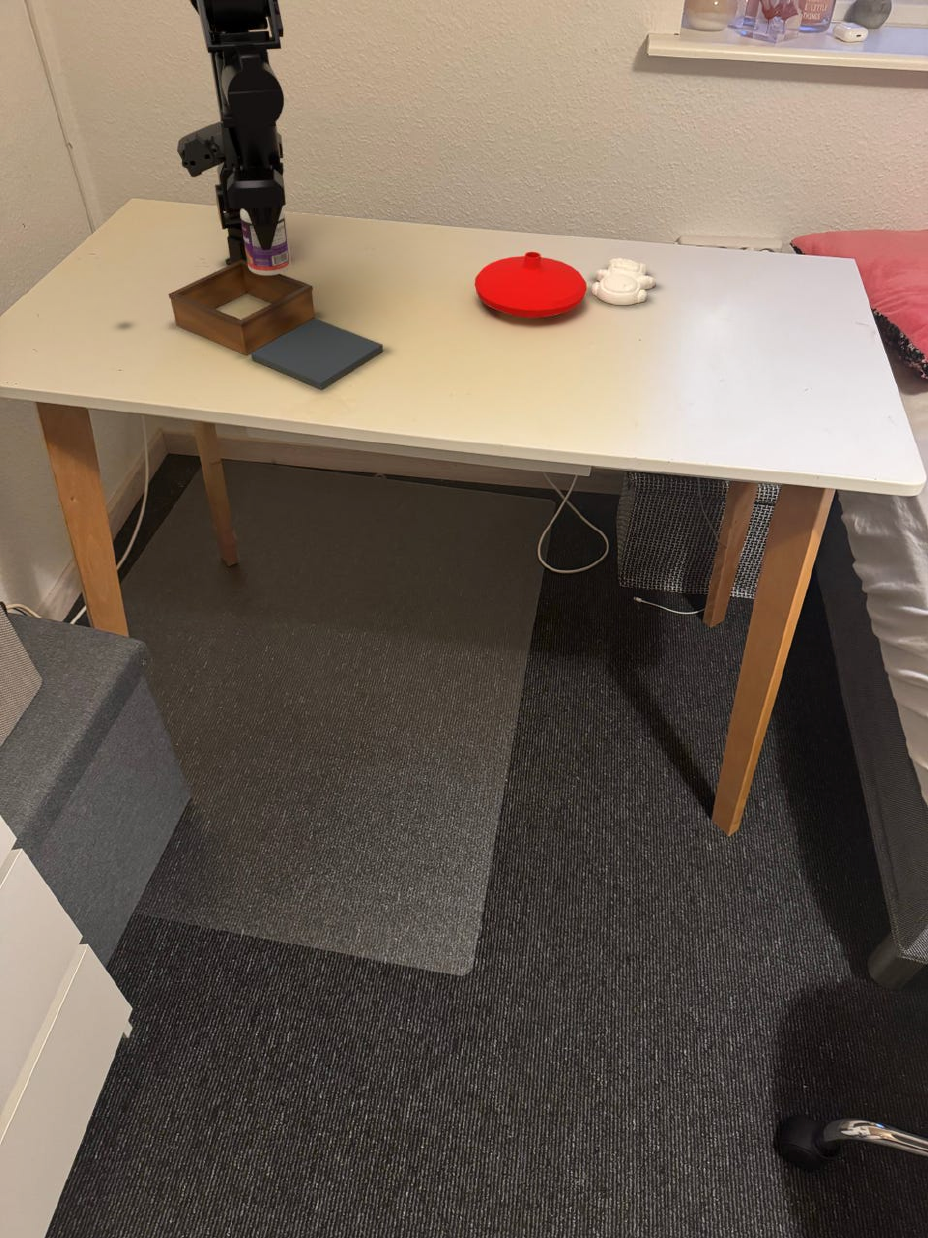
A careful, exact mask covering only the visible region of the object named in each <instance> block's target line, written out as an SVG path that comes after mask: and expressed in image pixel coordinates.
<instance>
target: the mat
mask: <svg viewBox="0 0 928 1238" xmlns="http://www.w3.org/2000/svg"><path fill="white" fill-rule="evenodd" d="M383 352H384V347H383V344H382V343H380V342H377V341H375V340H372V339H369V338H366V337H364V336H361V335H359V334H356V333H354V332H351V331H349V330H346V329H344V328H341V327H338V326H336V325H333V324H331V323H328V322H326V321H323V320H321V319H318V318H315V317H314V318H312V319H310V320H308V321H307V322H305V323H303V324H301V325H299V326H298V327H296V328H294V329H292V330H290V331H289V332H287V333H285V334H283V335H282V336H280V337H278V338H276V339H274V340H273V341H271V342H269V343H267V344H265V345H264V346H262V347H260V348H258V349H256V350H255V351H253V352H251V353H250V355H251V361H253V362H256V363H258V364H260V365H263V366H264V367H267V368H270V369H272V370H275V371H277V372H279V373H281V374H284V375H286V376H289V377H291V378H292V379H293V378H294V379H296V380H298V381H300V382H303V383H305V384H307V385H309V386H312V387H314V388H316V389H318V390H321V391H322V390H324V389H326V388H327V387H329V386H330V385H332V384H333V383H335V382H337V381H339V380H340V379H341V378H343V377H345V376H346V375H347V374H349V373H351V372H352V371H355V370H356V369H357V368H359V367H360V366H362V365H364V364H365V363H367V362H368V361H370V360H372V359H373V358H375V357H376V356H378V355H379V354H381V353H383Z"/></svg>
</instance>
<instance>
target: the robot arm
mask: <svg viewBox="0 0 928 1238" xmlns="http://www.w3.org/2000/svg"><path fill="white" fill-rule="evenodd" d="M188 1H189V2H190V4H191V6H192V7H193V8H194V10H195V11H196V13H197V15H198V16H199V20H200V25H201V29H202V35H203V40H204V44H205V48H206V52H207V54H209V58H210V63H211V64H210V65H211V71H212V75H213V83H214V90H215V95H216V101H217V108H218V113H219V119H220V120H219V121H217V122H215V123H212V124H208V125H206V126H204V127H201V128H200V129H197V130H195V131H192V132H191V133H188V134H186V135H184V136H182V137H180V139H179V140H177V141H178V142H177V146H176V147H177V148H176V151H177V154H178V155H179V158H180V159H181V166H182V167H183V168H184V169H186V170H187V172H188V174H189V175H190V177H191V178H197V177H199V176H202V174H203V172H205V171H208V170H210V169H213V168H215V167H217V168H216V173H217V177H218V183H217V184H214V189H215V197H216V198H215V200H216V207H217V213H218V218H219V222H220V225H221V229H222V230H227V235H228V236H227V237H226V241H227V247H228V254H229V257H227V258H226V259H225V260H224V262H225V264H226V265H228V266H229V265H231V264H233V263H235V262H237V261H239V260H244V261H247V257H246V251H245V244H244V238H243V231H242V224H241V218H240V210H241V209H244V210H246V211H247V213H248V215H249V217H250V220H251V222H252V225H253V228H254V230H255V233H256V236H257V238H258V241H259V244H260V246H261V249H262V250H270V249H271V246H272V243H273V239H274V235H275V232H276V228H277V225H278V221H279V218H280V214H281V211H282V207H283V208H284V206H286V205H287V202H286V192H285V191H286V189H285V179H284V162H282V161H281V159H284V147H283V139H282V135H281V134H280V133H279V132H278V127H277V121H278V120H279V119H280V117H281V115H282V113H283V112H284V111H283V110H284V108H285V107H284V106H285V96H284V91H283V88H282V86H281V83H280V81H279V79H278V78H277V76H276V74H275V72H274V70H273V68H272V66H271V64H270V58H269V52H268V51H269V50H281V49H282V44H281V38H284V25H283V20H282V15H281V9H280V5H279V0H188ZM268 28H269V30H268ZM270 35H271V36H270Z"/></svg>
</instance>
